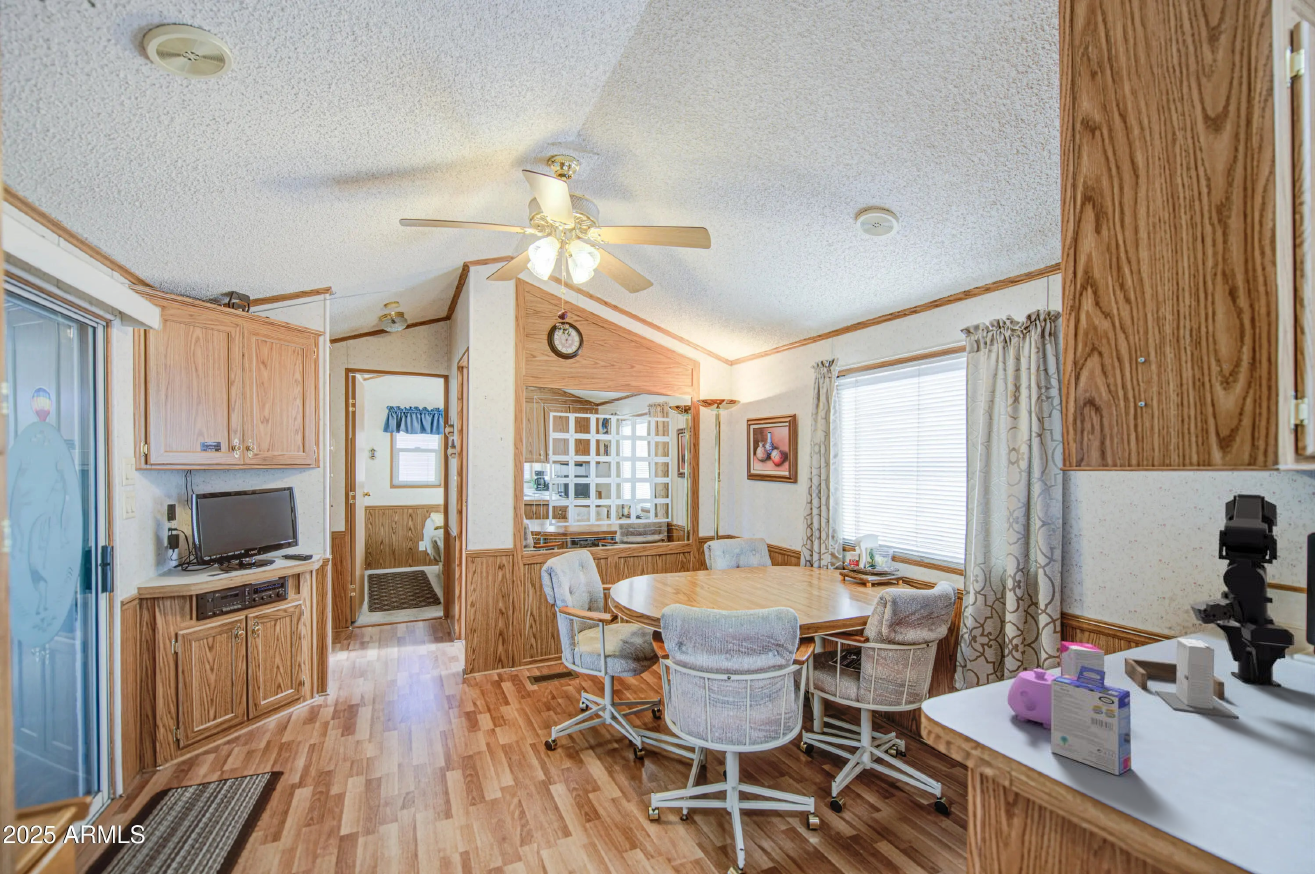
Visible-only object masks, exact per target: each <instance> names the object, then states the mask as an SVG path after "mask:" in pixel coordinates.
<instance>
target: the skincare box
mask: <svg viewBox="0 0 1315 874" xmlns="http://www.w3.org/2000/svg"><path fill="white" fill-rule="evenodd" d="M1176 664H1177V680H1175V681H1176V684H1175V685H1176V686H1175V689H1176V692H1175V693H1176V695H1177V696H1178V698H1179V699H1180V700H1181V701H1183V702H1184V703H1185V704H1186V705H1188V706H1193V707H1199V708H1207V709H1213V698H1214V695H1213V685H1214V676H1215V674H1214V673H1215V649H1214V648H1213V647H1211V646H1210V644H1208V643H1206V642H1204V641H1203V640H1201V639H1193V638H1192V639H1189V638H1179V637H1178V638H1176Z"/></svg>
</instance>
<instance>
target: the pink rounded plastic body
mask: <svg viewBox="0 0 1315 874" xmlns="http://www.w3.org/2000/svg"><path fill="white" fill-rule="evenodd" d="M1057 677H1058V676H1055V675H1054V674H1052V673H1050V672H1047V671H1046V670H1045V669H1042V668H1034V669H1032V670H1024V671H1021V672H1019V673H1018V674H1017V675H1016V677H1015V678H1014V680H1013V682H1012V683H1011V685H1010V688H1009V689H1008V694H1007V705H1008V706H1009V707H1010V709H1011V710H1012V712H1013V713H1015V714H1016V715H1017V717H1016V719H1017V720H1018V721H1022V722H1027V721H1029V720H1030V721H1034V722H1038V723H1042V726H1043V728H1045V729H1047V730H1051V680H1053V679H1055V678H1057Z"/></svg>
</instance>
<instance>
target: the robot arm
mask: <svg viewBox="0 0 1315 874" xmlns="http://www.w3.org/2000/svg"><path fill="white" fill-rule="evenodd" d="M1224 519H1225V522H1224V526H1223V529H1219V535H1218V560H1224V561H1228V563H1226V570H1224V571H1225V572H1224V573H1223V576H1222V581H1223V584H1224V585H1225V588H1227V589H1226V590H1222V591H1221V593H1220V598H1216V599H1214V598H1213V599H1208V600H1207V599H1206V600H1203V601H1199V602H1195V603H1194V602H1193V603H1191V604H1189V607H1190V608H1191V610H1192V612H1193V615H1194V617H1195V619H1196V621H1198V622H1201V624H1203V625H1211V624H1212V625H1213V626H1215V627H1216V628H1217V629H1219V631H1221V632H1222V633H1223V635H1224V638H1225V642H1226V643H1227V647H1228V651H1229V652H1230V654H1231V657H1232V661H1234V662H1236V663H1237V671H1230V674H1231V675H1232V676H1234V677H1235V678H1237V680H1239V681H1241V682H1243V683H1246V684H1254V685H1261V686H1262V685H1263V686H1270V687H1278V688H1279V687H1282V684H1281V683H1279V682H1278V681H1276V680H1275V679H1274V665H1275V663H1277V661H1278V660H1282V659H1283V660H1284V659H1285V660H1286V650H1287V649H1290V647H1291V646H1293V647H1294V646H1295V635H1294V633H1292V632H1291V631H1290V630H1289V629H1287V628H1285V627H1282V626H1280V625H1278V624H1276V623H1277V622H1276V621H1275V619H1274V618H1273V617H1272V616H1271V614H1270V613H1269V611H1268V610H1269V607H1268V606H1269V605H1268V604H1273V603H1274V602H1273V597H1271V596H1268V573H1267V572H1268V571H1267V570H1268V569H1267V567H1266V565H1273V564H1274V561H1278V539H1277V538H1276V537H1275V534H1274V528H1275V527H1278V508H1277V505H1276V504H1274V503H1273V502H1271V501H1268V500H1266V496H1265V495H1261V494H1251V493H1250V494H1247V493H1246V494H1245V493H1237V494H1233V499H1230V500H1228V501H1227V502H1225V507H1224ZM1267 557H1268V558H1267Z"/></svg>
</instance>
